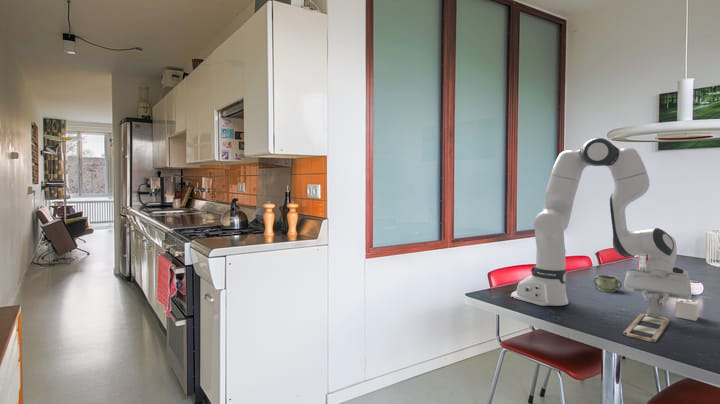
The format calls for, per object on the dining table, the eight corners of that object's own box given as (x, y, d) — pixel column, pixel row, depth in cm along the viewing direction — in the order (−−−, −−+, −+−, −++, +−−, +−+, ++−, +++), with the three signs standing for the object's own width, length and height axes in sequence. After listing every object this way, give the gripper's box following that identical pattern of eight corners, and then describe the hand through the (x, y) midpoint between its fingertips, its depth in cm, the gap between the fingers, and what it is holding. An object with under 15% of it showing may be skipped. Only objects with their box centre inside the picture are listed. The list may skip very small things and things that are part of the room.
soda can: (637, 275, 220) (638, 247, 219) (637, 272, 226) (638, 246, 226) (655, 277, 215) (656, 249, 215) (655, 274, 222) (656, 247, 221)
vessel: (589, 289, 193) (590, 275, 193) (595, 285, 199) (596, 272, 199) (618, 294, 185) (619, 280, 184) (624, 290, 191) (624, 277, 190)
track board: (622, 335, 136) (622, 332, 136) (641, 315, 156) (641, 313, 155) (655, 342, 129) (655, 340, 129) (670, 321, 149) (670, 318, 149)
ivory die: (675, 316, 154) (676, 300, 153) (678, 313, 158) (678, 297, 158) (696, 320, 150) (696, 304, 149) (698, 317, 154) (698, 301, 153)
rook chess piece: (649, 313, 152) (650, 291, 152) (663, 316, 149) (664, 294, 148) (644, 315, 150) (644, 293, 149) (658, 318, 146) (659, 296, 146)
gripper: (625, 263, 160) (619, 293, 154) (692, 271, 146) (689, 304, 140) (627, 273, 164) (621, 302, 157) (693, 281, 150) (689, 314, 143)
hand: (653, 303), depth 149 cm, fingers closed on rook chess piece, 3 cm apart
